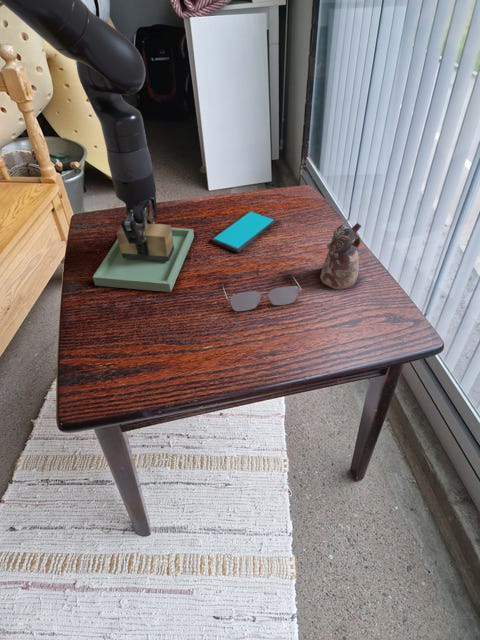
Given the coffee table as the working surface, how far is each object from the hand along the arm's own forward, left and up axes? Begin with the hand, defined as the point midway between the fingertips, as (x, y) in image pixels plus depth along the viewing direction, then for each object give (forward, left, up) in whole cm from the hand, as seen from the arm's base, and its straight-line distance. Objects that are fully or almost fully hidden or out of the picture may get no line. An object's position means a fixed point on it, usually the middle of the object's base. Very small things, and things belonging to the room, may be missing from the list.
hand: (147, 248), depth 88 cm
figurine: (+40, -2, -3) cm, 40 cm away
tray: (0, -1, -3) cm, 3 cm away
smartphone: (+19, +12, -3) cm, 23 cm away
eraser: (0, 0, -1) cm, 1 cm away
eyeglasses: (+25, -9, -3) cm, 26 cm away
